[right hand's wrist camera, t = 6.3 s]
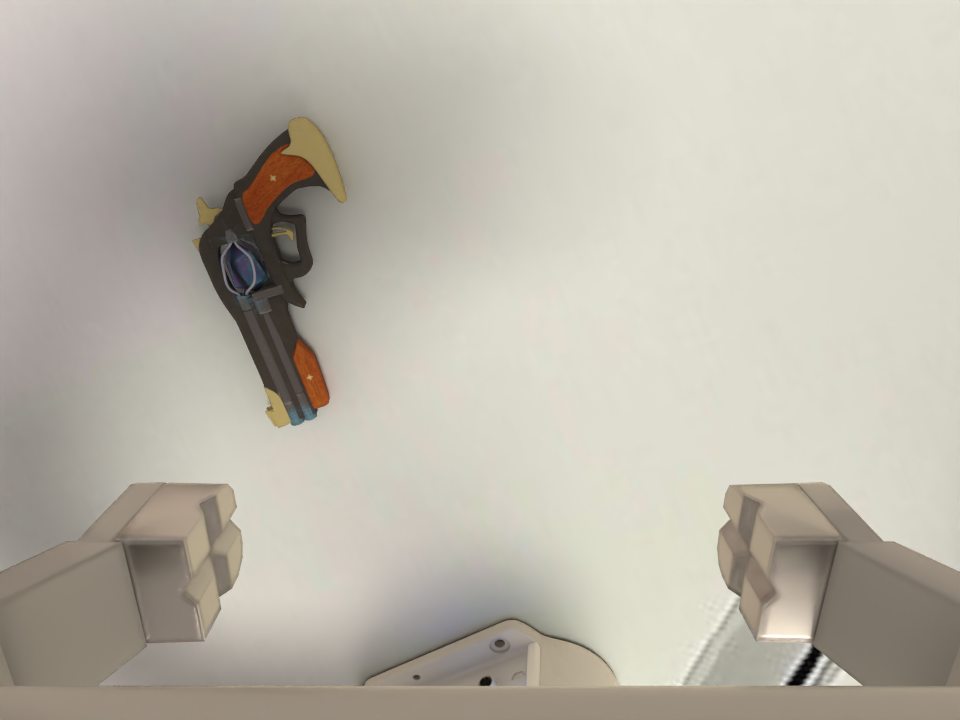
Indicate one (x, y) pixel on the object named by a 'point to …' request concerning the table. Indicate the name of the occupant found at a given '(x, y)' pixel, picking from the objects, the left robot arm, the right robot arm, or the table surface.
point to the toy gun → (272, 265)
